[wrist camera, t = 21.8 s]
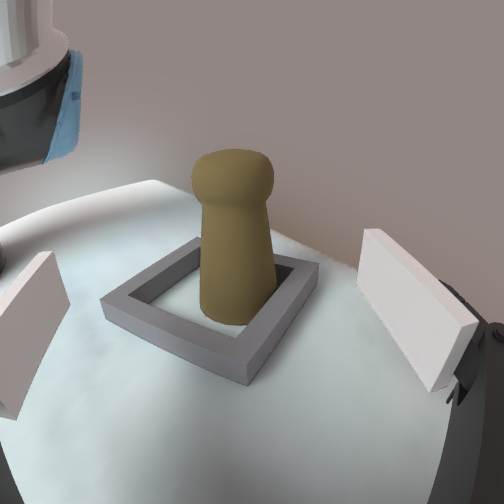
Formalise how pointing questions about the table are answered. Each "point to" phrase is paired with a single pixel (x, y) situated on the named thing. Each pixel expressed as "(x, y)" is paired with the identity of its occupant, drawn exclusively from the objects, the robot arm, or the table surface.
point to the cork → (234, 234)
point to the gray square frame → (198, 337)
